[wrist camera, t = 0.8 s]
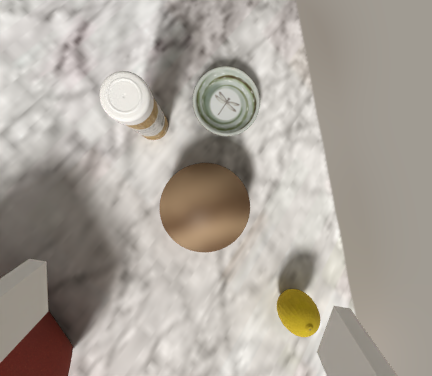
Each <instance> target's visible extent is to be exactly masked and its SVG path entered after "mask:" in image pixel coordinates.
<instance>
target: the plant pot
mask: <svg viewBox="0 0 432 376" xmlns="http://www.w3.org/2000/svg"><path fill="white" fill-rule="evenodd" d="M72 350H73V346H72V344H71V343H70V341H69V339H68V338H67V337H66V335H65V334H64V332H63V331H62V329H61V328H60V326H59V325H58V324H57V322H56V321H55V319H54V318H53V316H52V315H51V313H50V312H49V310H48V312H47V313H46V314H45V316H44V317H43V318H42V319H41V320H40V321H39V322H38V323H37V324H36V325H35V326H34V327H33V328H32V329H31V331H30V332H29V333H28V334H27V335H26V336H25V337H24V338H23V339H22V340H21V341H20V342H19V343H18V344H17V346H16V347H15V348H14V349H13V350H12V351H11V352H10V353H9V354H8V355H7V356H6V357H5V358H4V359H3V361H2V362H1V363H0V376H68V373H69V368H70V363H71V357H72Z"/></svg>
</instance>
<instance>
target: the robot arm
mask: <svg viewBox="0 0 432 376" xmlns="http://www.w3.org/2000/svg"><path fill="white" fill-rule="evenodd" d="M47 312H48V289H47V262H46V261H41V260H35V259H28V260H27V261H25V262H24V263H22V264H21V265H19V266H18V267H16V268H15V269H14V270H12V271H11V272H9V273H8V274H6V275H5V276H3V277H2V278H1V279H0V363H1V362H2V361H3V359H4V358H5V357H6V356H7V355H8V354H9V353H10V352H11V351H12V350H13V349H14V348H15V347H16V346H17V344H18V343H19V342H20V341H21V340H22V339H23V338H24V337H25V336H26V335H27V334H28V333H29V332H30V331H31V329H32V328H33V327H34V326H35V325H36V324H37V323H38V322H39V321H40V320H41V319H42V318H43V317H44V316H45V314H46V313H47ZM317 353H318V355H319V358H320V360H321V362H322V365H323V367H324V370H325V372H326V374H327V376H397V374H396V373H395V371H394V370H393V369H392V367H391V366H390V364H389V363H388V362H387V360H386V359H385V357H384V356H383V355H382V353H381V352H380V350H379V349H378V347H377V346H376V345H375V343H374V342H373V340H372V339H371V337H370V336H369V335H368V333H367V332H366V330H365V329H364V328H363V326H362V325H361V323H360V322H359V320H358V319H357V318H356V316H355V315H354V313H353V312H352V311H351V309H350V308H343V307H337V306H334V307H333V310H332V312H331V315H330V318H329V321H328V323H327V326H326V329H325V332H324V334H323V337H322V340H321V343H320V345H319V348H318V351H317Z"/></svg>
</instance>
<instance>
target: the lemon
mask: <svg viewBox="0 0 432 376" xmlns="http://www.w3.org/2000/svg"><path fill="white" fill-rule="evenodd" d="M277 311H278V315H279V318H280V320H281V321H282V323H283V325H284V326H285V327H286V328H287V329H288V330H289V331H290V332H291V333H293V334H295V335H297V336H300V337H308V336H311V335H313V334H314V333H315V332H316V331H317V330H318V328H319V325H320V314H319V311H318V308H317V306H316V304H315V303H314V302H313V300H312V299H311V298H310V297H309V296H308V295H307V294H306V293H304V292H303V291H300V290H298V289H288V290H286V291H284V292H283V293H282V294H281V295H280V296H279V298H278V301H277Z"/></svg>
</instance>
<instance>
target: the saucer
mask: <svg viewBox="0 0 432 376" xmlns="http://www.w3.org/2000/svg"><path fill="white" fill-rule="evenodd" d="M259 107H260V97H259V92H258V89H257V87H256V85H255V83H254V81H253V80H252V79H251V78H250V77H249V76H248V75H247V74H246V73H245V72H243V71H241V70H240V69H237V68H234V67H228V66H222V67H217V68H214V69H212V70H210V71H208V72H206V73H205V74H204V75H203V76H202V77H201V78H200V79H199V81H198V82H197V84H196V86H195V89H194V92H193V109H194V112H195V115H196V117H197V119H198V121H199V122H200V123H201V125H202V126H203V127H204V128H205V129H207V130H208V131H210V132H211V133H214V134H216V135H220V136H233V135H237V134H240V133H242V132H243V131H245V130H246V129H248V128H249V127H250V126H251V125H252V123H253V122H254V121H255V119H256V117H257V115H258V112H259Z"/></svg>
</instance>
